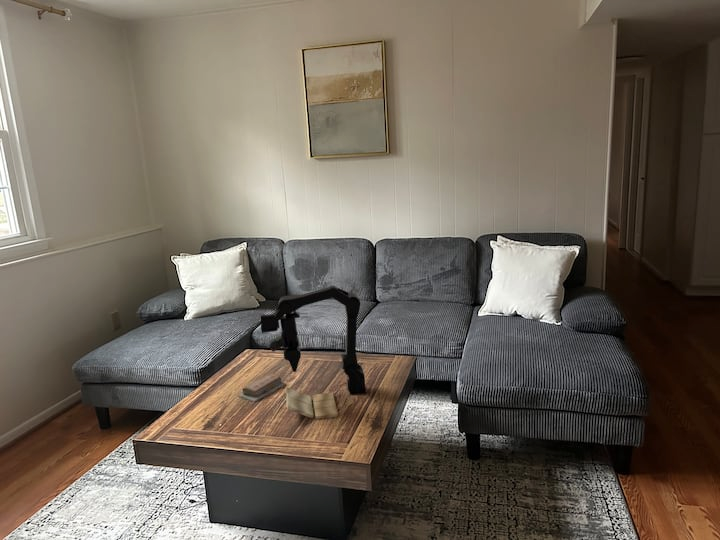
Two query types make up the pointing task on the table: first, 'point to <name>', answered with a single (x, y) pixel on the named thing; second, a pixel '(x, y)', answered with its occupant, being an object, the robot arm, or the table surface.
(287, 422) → the table surface
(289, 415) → the table surface
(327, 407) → the laid board
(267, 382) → the packaged product
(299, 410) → the beige grooved panel
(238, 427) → the table surface
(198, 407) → the table surface
